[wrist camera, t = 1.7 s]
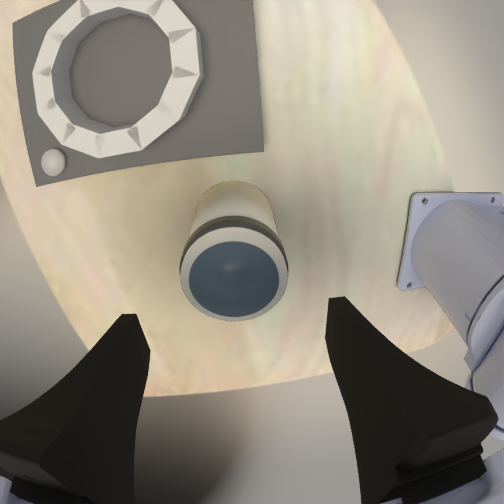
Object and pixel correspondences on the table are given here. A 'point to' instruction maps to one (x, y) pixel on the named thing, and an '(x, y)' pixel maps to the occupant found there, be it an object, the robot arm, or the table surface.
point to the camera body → (136, 84)
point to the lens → (234, 254)
